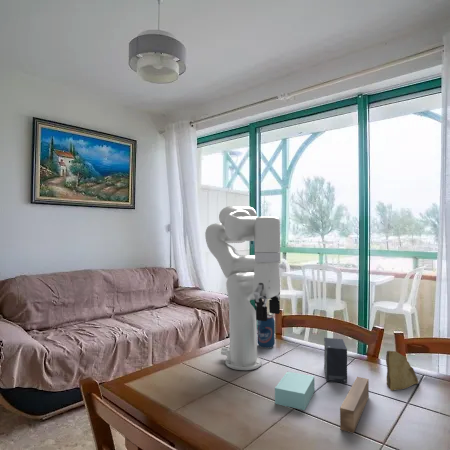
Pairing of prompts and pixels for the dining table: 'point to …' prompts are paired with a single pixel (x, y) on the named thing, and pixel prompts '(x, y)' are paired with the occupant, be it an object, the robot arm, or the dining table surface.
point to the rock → (399, 372)
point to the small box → (335, 360)
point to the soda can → (266, 332)
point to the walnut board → (354, 405)
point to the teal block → (295, 390)
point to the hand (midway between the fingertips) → (268, 316)
